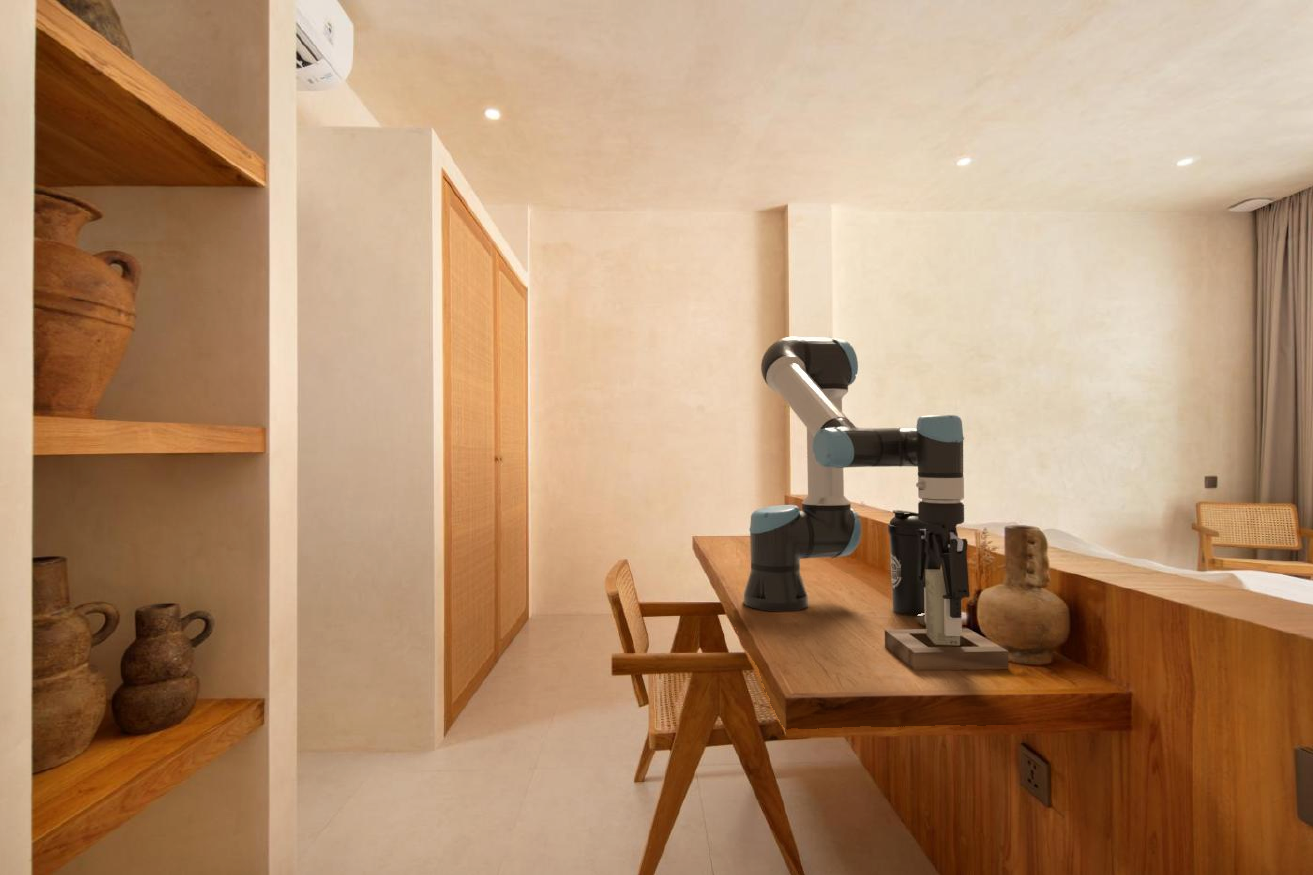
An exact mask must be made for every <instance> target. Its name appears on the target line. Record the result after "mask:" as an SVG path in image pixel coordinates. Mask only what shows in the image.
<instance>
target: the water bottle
mask: <svg viewBox="0 0 1313 875" xmlns="http://www.w3.org/2000/svg"><path fill="white" fill-rule="evenodd" d="M892 513H893V514H894V517H892V518H891V519H890V521H889V523H887V533H888V534H889V550H890V552H889V555H890V575H891V576H890V577H891V578H890V579H891V592H892V594H891V595H892V610H893V612H894V613H896V614H899V615H904V616H910V617H918V616H917V615H918V614H921V613H925V611H924V587H925V586H923V585H922V581H919V580H918V556H919V537H918V530H919V529H926V525H927V523H923V522H920V521H919V519H918V512H913V511H909V510H900V509H895V510H892Z"/></svg>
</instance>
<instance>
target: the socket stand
mask: <svg viewBox="0 0 1313 875" xmlns="http://www.w3.org/2000/svg"><path fill="white" fill-rule="evenodd" d="M884 646H885V647H886V648H887V649H888V650H889V651H891V652H892V653H893V654H894V655H895V656H897V657H898V658H899V659H900V660H902V662H904V663H905V664H906V665H908V666H909V667H910V668H911V667H912V668H911V669H912V670H914V671H957V670H958V671H959V670H960V669H969V670H971V671H972V670H974V671H975V670H1009V668H1010V667H1009V664H1010V663H1009V660H1010V658H1009V650H1007V649H1006V648H1003V647H1002V646H1000V645H998V644H997V643H995V642H993V641H991V640H989V639H987V638H986V637H984V636H982V635H981V634H979V633H977V632H975V631H973V630H971V629H969V628H962V636H960V645H959V646H956V645H938V644H934V643H933V642H932V641H931V639H930V638H929V637H928V636H927V635H926V628H925V629H924V628H922V629H921V628H919V629H918V628H913V629H912V628H911V629H904V628H903V629H884Z"/></svg>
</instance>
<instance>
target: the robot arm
mask: <svg viewBox="0 0 1313 875" xmlns="http://www.w3.org/2000/svg"><path fill="white" fill-rule="evenodd" d="M858 362H859V361H858V357H857V353H856V351H855V349H854V347H853V345H851V344H850V342H848V341H847V340H844V339H841V338H832V337H799V336H788V337H784V338H781V339H778V340H776V341H775V342H773V343H772V344H771V345H770V346H768V348H767V349H766V351H765V353H764V354H763V356H762V359H761V364H760V371H761V375H762V378H763V380H764V382H765V384H766V385H767V386H768V387H769V389H771V391H773V392H775V393H778V394H780V396H781V397H782V398H783V399H784V400H785V402H786V404H788V405H789V407H790V408H791V410H792V411H793V412H794V414H796V415H797V418H799V420H800V421H801V422H802V424H803V425H804V426H805V427H806V455H807V458H806V459H807V466H806V467H807V496H806V497H805V498H804V499H803V500H802V502H801V510H800V508H799V506H798V505H795V504H781V505H779V504H778V505H772V506H771V505H770V506H769V505H768V506H765V507H761V508H758V509H756V510H754V511H753V512H752V513H751V515H750V525H749V539H750V573H749V575H748V580H747V582H746V586H745V589H744V592H743V604H745V606H747V607H748V608H752V609H756V610H759V611H760V610H761V611H767V612H768V611H769V612H792V611H793V612H794V611H795V612H796V611H799V610H803V609H805V608H807V607H808V605H809V604H808V603H809V602H808V601H809V600H808V596H809V595H808V594H807V593H808V592H807V591H806V590H807V589H806V586H805V584H804V581H803V578H802V575H801V568H800V567H801V565H800V563H801V562H800V561H801V560H802V559H805V560H806V559H807V560H808V559H819V558H821V559H822V558H832V559H833V558H834V559H835V558H839V557H846V556H849V555H851V554H853V553H854V551H855V550H856V549H857V548H858V546H859V544H860V541H861V536H862V522H861V520H860V519H859V518H860V516H859V513H858V512H856V511H855V510H854V509H853V508H851V504H852V503H851V502H850V500H849V499H848V498H847V497H846V496H845V485H844V484H845V481H844V480H845V479H844V476H845V475H844V468H845V469H846V468H869V467H870V468H873V467H874V468H876V467H878V468H881V467H882V468H883V467H900V468H901V467H915V468H916V467H917V482H916V484H915V486H916V487H917V488H918V490H917V492H918V494H917V495H918V499H921V501H919V502H918V503H917V509H918V510H917V513H918V519H919V521H920V522H923V523H927V525H926V529H919V530H918V537H919V556H918V580H919V581H922V585H923V586H925V587H924V611H925V616H924V623H925V624H926V579H925V570H926V569H938V570H942V572H943V577H944V583H945V589H946V594H947V595H943V598H944V635H945V636H962V629H963V622H962V621H963V620H962V618H963V617H962V615H963V613H962V612H963V611H962V601H963V600H962V599H964V598H970V582H969V566H968V555H967V552H968V545H969V544H968V543H969V542H968V539H967V538H959V535H958V530H957V529H958V528H957V525H962V524H963V523H964V522H965V504H964V503H963V502H962V501H961V500H964V499H965V477H964V440H965V437H964V433H963V432H964V431H963V421H962V418H961V417H960V416H958V415H954V414H940V415H939V414H934V415H933V414H932V415H931V414H930V415H922V416H919V417H918V418H917V420H916V421H917V422H916V427H889V428H888V427H857V426H856V425H855V424H854V423H853V422H852V421H851V420H850V419H849V418H848V417H847V416H846V415H845V413H843V398H844V397H845V396H846V395H847V394H848V393H849V386H850V385H852V384H853V383H854V382H855V380H856V378H857V376H856V375H857V374H858V370H859V363H858Z"/></svg>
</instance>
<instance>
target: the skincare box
mask: <svg viewBox="0 0 1313 875" xmlns="http://www.w3.org/2000/svg"><path fill="white" fill-rule="evenodd" d="M925 579H926V623H925V629H926V635H927V636H928V637H929V638H930V639H931V641H932V642H933V643H934V644H938V645H956V646H959V645H960V636H945V635H944V598H943V595H947V594H946V589H945V583H944V577H943V572H942V569H940V570H938V569H926V570H925Z"/></svg>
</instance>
